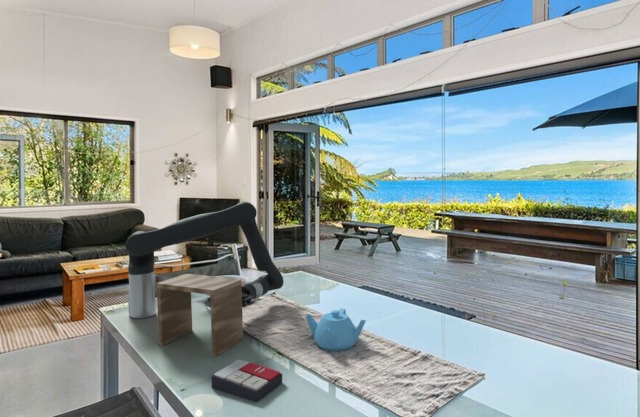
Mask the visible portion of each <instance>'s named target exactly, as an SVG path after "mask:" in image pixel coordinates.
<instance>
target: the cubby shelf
mask: <svg viewBox="0 0 640 417" xmlns="http://www.w3.org/2000/svg"><path fill="white" fill-rule="evenodd" d="M155 284H156V285H155V287H156V301H157V302H156V304H157V322H158V325H157V326H158V343H159V344H158V345H159V346H162V347H163V346H165V345H167V344H169V343H170V342H173V341H175V340H177V339H178V338H181V337H183V336H185V335H187V334H189V333H190V332H193V313H192V312H193V311H192V308H193V307H192V293H193V294H203V295H206V294H208V295H210V296H209V297H210V302H209V303H210V322H211V323H210V327H211V328H210V329H211V351H212V352H211V354H212V357H215V358H216V357H218V356H220V355H222V354H223V353H225V352H226V351H228V350H229V349H231V348H233V347H234V346H236V345H238V344H240V343H241V342H242V341H243V340H244V326H243V325H244V324H243V323H244V321H243V305H242V284H241V279H232V278H223V277H214V276H213V275H202V274H194V273H185V274H181V275H178V276H175V277H171V278H168V279H164V280H161V281H159V282H155ZM208 295H207V296H208Z"/></svg>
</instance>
